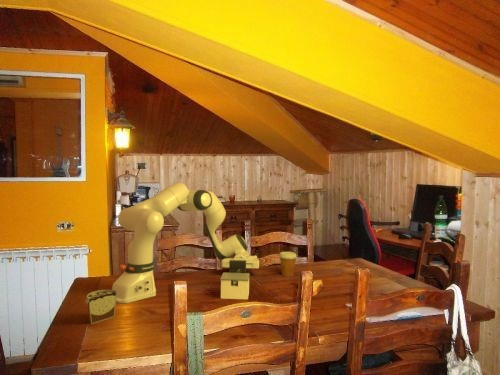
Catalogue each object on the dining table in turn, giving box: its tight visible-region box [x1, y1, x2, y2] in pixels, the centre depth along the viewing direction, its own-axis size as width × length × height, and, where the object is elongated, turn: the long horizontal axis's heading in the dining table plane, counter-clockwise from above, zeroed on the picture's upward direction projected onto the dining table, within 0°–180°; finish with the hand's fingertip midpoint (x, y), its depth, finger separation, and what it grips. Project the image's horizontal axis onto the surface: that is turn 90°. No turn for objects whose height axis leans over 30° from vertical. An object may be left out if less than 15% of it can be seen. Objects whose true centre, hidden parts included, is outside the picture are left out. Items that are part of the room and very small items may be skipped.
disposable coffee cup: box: [279, 251, 297, 278], centre depth 212 cm, size 10×10×12 cm
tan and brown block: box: [84, 289, 118, 325], centre depth 148 cm, size 12×6×10 cm, turn 141°
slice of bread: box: [311, 279, 324, 297], centre depth 189 cm, size 18×18×4 cm
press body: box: [220, 272, 250, 300], centre depth 177 cm, size 10×12×9 cm
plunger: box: [228, 260, 247, 285], centre depth 182 cm, size 17×8×11 cm, turn 177°
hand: (239, 267), depth 201 cm, fingers closed
